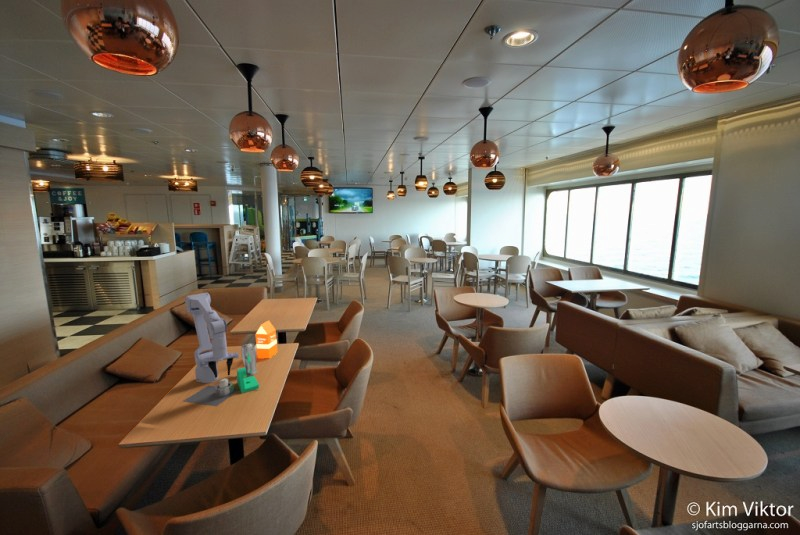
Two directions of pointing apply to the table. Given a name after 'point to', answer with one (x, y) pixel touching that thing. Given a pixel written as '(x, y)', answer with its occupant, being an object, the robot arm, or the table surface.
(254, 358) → the beer glass
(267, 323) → the orange juice
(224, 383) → the plug cap
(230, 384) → the sleeve
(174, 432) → the table surface
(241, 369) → the camera mount
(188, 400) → the mat
